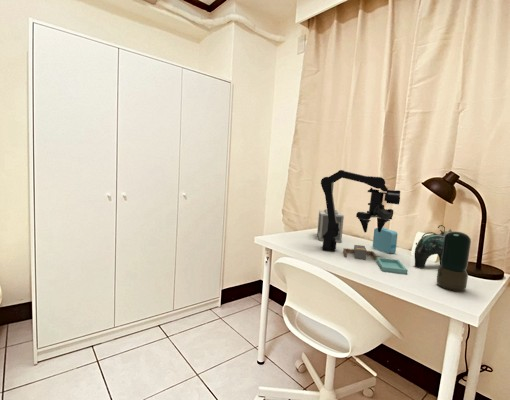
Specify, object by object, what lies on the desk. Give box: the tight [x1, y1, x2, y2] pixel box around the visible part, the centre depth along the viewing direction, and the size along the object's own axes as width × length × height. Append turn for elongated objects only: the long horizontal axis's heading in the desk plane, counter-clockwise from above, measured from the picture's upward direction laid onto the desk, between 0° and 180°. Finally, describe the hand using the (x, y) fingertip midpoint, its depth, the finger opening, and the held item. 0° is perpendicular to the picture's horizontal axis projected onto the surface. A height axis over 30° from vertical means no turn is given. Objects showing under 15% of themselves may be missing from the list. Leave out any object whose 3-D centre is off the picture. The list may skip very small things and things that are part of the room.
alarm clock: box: [316, 208, 345, 244], centre depth 177 cm, size 18×13×18 cm
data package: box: [372, 227, 398, 254], centre depth 156 cm, size 12×4×12 cm, turn 23°
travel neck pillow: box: [414, 224, 453, 269], centre depth 133 cm, size 20×6×20 cm, turn 102°
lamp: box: [436, 230, 472, 292], centre depth 109 cm, size 10×10×22 cm
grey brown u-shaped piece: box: [342, 247, 378, 261], centre depth 144 cm, size 15×9×2 cm, turn 77°
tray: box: [375, 256, 408, 275], centre depth 129 cm, size 10×14×2 cm
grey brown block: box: [352, 244, 368, 261], centre depth 143 cm, size 5×9×5 cm, turn 165°
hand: (372, 232), depth 144 cm, fingers open, 9 cm apart
